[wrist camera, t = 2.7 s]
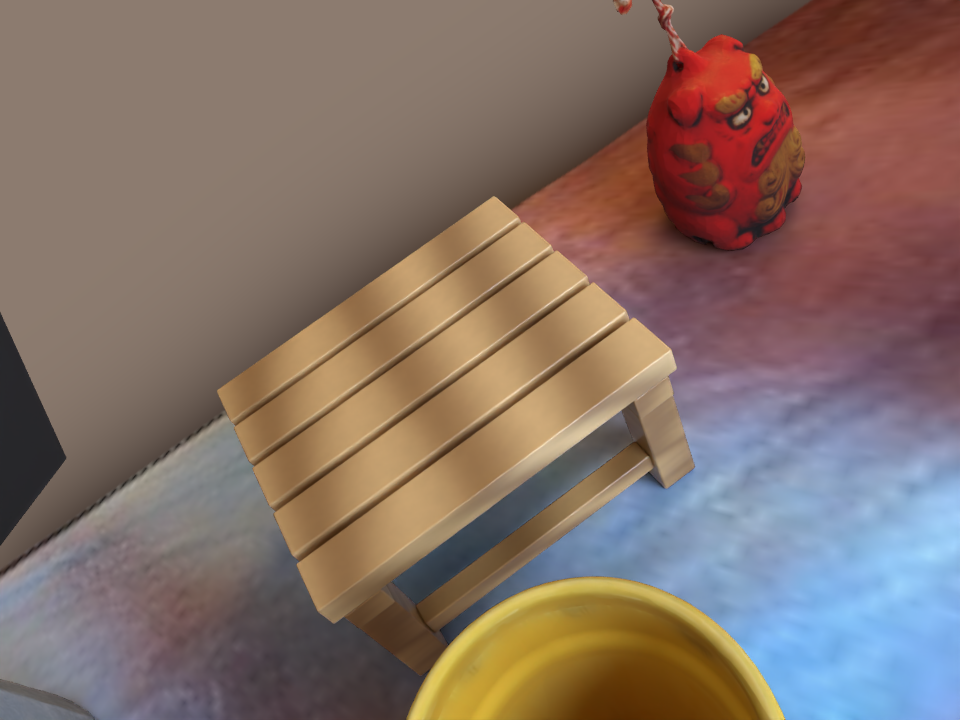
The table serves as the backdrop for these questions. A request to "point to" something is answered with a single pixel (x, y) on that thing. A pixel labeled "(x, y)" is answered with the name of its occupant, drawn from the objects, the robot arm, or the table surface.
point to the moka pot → (36, 705)
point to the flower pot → (594, 660)
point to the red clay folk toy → (720, 142)
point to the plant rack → (448, 421)
